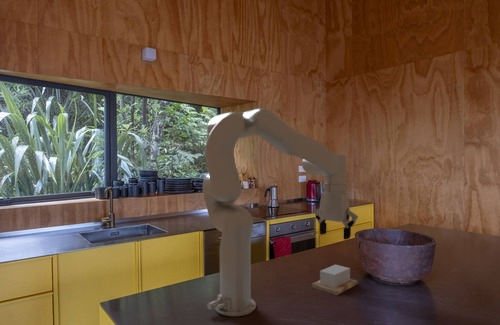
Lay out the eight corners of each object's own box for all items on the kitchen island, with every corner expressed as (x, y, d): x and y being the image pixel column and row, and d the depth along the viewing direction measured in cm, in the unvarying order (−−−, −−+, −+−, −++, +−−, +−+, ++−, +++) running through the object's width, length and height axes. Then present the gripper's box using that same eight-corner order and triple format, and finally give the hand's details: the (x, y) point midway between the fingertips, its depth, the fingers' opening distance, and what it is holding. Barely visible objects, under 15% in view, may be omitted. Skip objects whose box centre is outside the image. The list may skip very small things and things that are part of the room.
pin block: (336, 295, 116) (336, 284, 116) (311, 287, 123) (311, 276, 123) (357, 284, 126) (357, 274, 126) (333, 277, 133) (333, 267, 133)
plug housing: (334, 288, 119) (334, 275, 119) (320, 283, 123) (320, 270, 123) (349, 280, 126) (350, 268, 126) (335, 276, 130) (335, 264, 130)
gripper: (308, 187, 127) (308, 233, 128) (351, 191, 115) (351, 242, 115) (320, 186, 132) (320, 230, 133) (362, 189, 120) (362, 238, 120)
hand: (334, 236), depth 124 cm, fingers open, 9 cm apart
